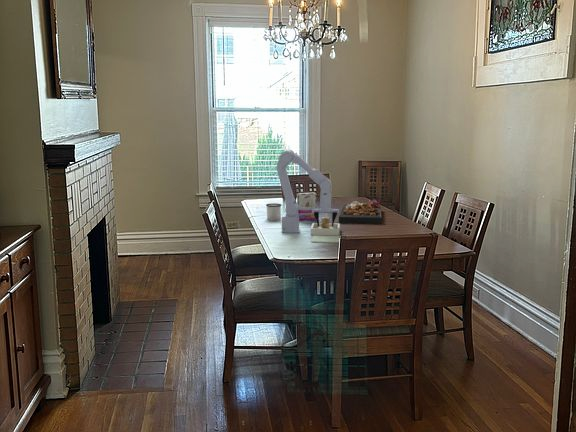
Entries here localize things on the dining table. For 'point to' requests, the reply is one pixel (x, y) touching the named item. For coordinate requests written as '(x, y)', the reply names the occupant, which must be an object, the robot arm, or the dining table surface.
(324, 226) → the wood block
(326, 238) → the pad
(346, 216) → the food platter
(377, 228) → the dining table surface
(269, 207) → the mug
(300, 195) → the candy bar box
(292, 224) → the robot arm
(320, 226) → the white square tray
